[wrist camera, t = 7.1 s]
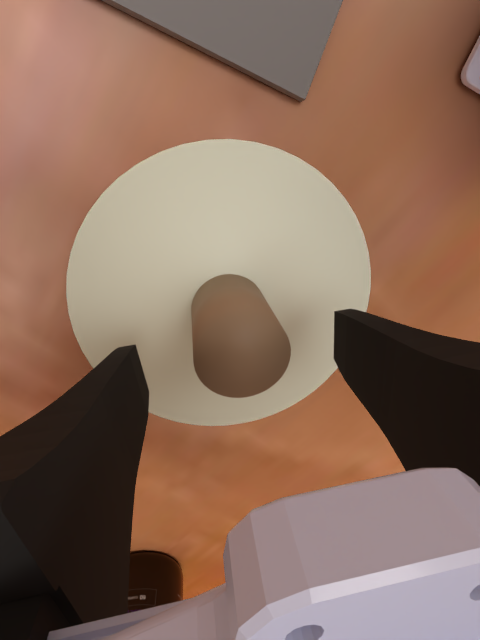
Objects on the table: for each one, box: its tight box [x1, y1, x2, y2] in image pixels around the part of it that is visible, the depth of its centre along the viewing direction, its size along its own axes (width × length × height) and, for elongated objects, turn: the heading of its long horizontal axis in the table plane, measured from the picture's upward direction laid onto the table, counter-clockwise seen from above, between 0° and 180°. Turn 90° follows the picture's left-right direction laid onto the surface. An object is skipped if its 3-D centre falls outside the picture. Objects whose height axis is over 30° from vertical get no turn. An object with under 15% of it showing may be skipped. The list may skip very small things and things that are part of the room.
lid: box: [66, 139, 371, 426], centre depth 13 cm, size 13×13×5 cm
